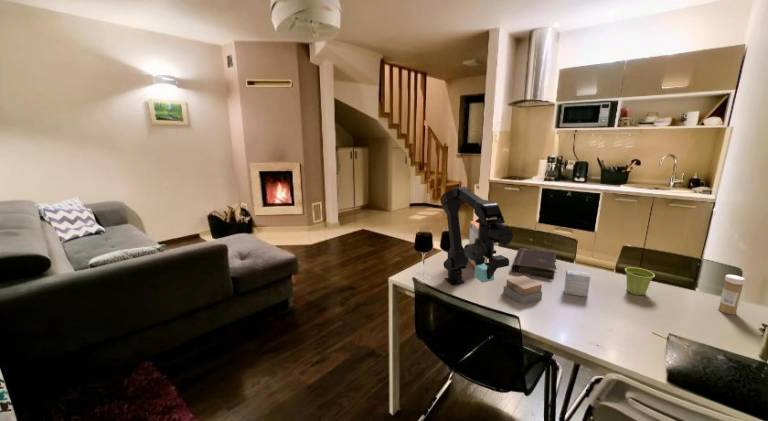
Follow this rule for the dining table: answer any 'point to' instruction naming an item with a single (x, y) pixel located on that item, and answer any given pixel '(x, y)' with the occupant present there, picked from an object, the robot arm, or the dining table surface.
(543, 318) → the dining table surface
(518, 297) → the grey square slab
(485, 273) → the teal cube
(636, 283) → the plant pot
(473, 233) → the cracker box
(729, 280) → the sprinkles bottle
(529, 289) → the tan square block
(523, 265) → the diary
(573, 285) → the medicine box
